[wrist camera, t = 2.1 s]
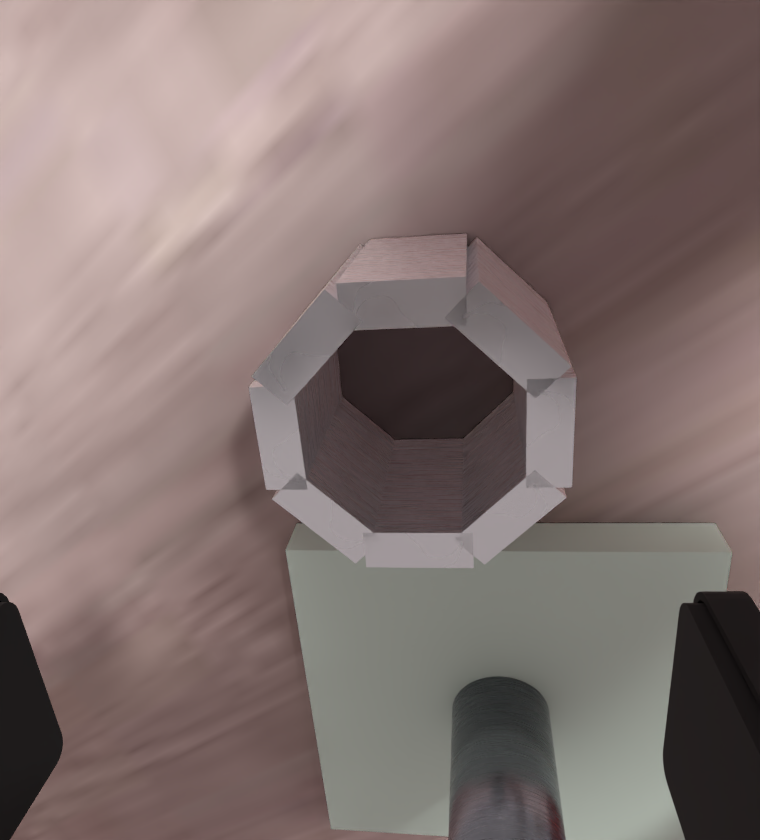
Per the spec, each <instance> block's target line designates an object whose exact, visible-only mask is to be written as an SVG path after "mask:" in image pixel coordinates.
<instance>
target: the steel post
mask: <svg viewBox="0 0 760 840" xmlns="http://www.w3.org/2000/svg"><path fill="white" fill-rule="evenodd" d="M448 840H566V837H565V830H564V822H563V814H562V807H561V799H560V791H559V783H558V776H557V768H556V760H555V753H554V745H553V737H552V729H551V722H550V714H549V708H548V704H547V702H546V700H545V698H544V697H543V696H542V694H541V693H540V692H539V691H538V690H537V689H535V688H534V687H532V686H531V685H529V684H527V683H525V682H523V681H521V680H518V679H514V678H509V677H500V676H498V677H486V678H482V679H479V680H476V681H473V682H471V683H469V684H468V685H466V686H465V687H464V688H462V689H461V690H460V691H459V693H458V694H457V695H456V697H455V699H454V701H453V706H452V734H451V767H450V800H449V833H448Z"/></svg>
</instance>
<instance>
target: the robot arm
mask: <svg viewBox="0 0 760 840" xmlns="http://www.w3.org/2000/svg"><path fill="white" fill-rule="evenodd" d="M62 746H63V738H62V734H61V731H60V728H59V725H58V722H57V719H56V716H55V713H54V711H53V708H52V705H51V702H50V699H49V696H48V693H47V691H46V688H45V685H44V682H43V679H42V676H41V673H40V670H39V668H38V665H37V662H36V659H35V656H34V653H33V650H32V648H31V645H30V642H29V639H28V636H27V633H26V630H25V627H24V625H23V622H22V619H21V616H20V613H19V610H18V608H17V607H16V605H15V604H13V603H11V602H9V600H8V598H7V597H6V596H5V595H4V594H3V593H0V840H10V838H11V837H12V835H13V834H14V832H15V830H16V829H17V827H18V826H19V824H20V822H21V821H22V819H23V817H24V816H25V814H26V813H27V811H28V809H29V808H30V806H31V805H32V803H33V801H34V800H35V798H36V797H37V795H38V793H39V792H40V790H41V789H42V787H43V785H44V784H45V782H46V781H47V779H48V777H49V776H50V774H51V772H52V771H53V769H54V768H55V766H56V764H57V762H58V760H59V758H60V755H61V752H62ZM663 766H664V773H665V778H666V781H667V785H668V788H669V791H670V794H671V797H672V800H673V803H674V807H675V810H676V813H677V816H678V819H679V822H680V825H681V828H682V831H683V834H684V837H685V840H760V611H759V610H758V608H757V606H756V605H755V603H754V602H753V600H752V598H751V597H750V596H749V595H748V594H747V593H745V592H743V591H700V592H697V593H696V595H695V597H694V601H693V603H682V604H681V606H680V610H679V616H678V625H677V633H676V642H675V651H674V659H673V668H672V677H671V685H670V694H669V702H668V711H667V720H666V728H665V737H664V746H663Z"/></svg>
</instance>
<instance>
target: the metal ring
mask: <svg viewBox="0 0 760 840" xmlns="http://www.w3.org/2000/svg"><path fill="white" fill-rule="evenodd" d="M447 326H454V327H455V328H457V329H458V330H459V331H460V332H461V333H462V334H463V335H464V336H466V337H467V338H468V339H469V340H470V341H471V342H472V343H473V344H475V345H476V346H477V347H478V348H479V349H480V350H481V351H482V352H484V353H485V354H486V355H487V356H488V357H489V358H490V359H491V360H493V361H494V362H495V363H496V364H497V365H498V366H499V367H500V368H502V369H503V370H504V371H505V372H506V373H507V374H508V375H509V376H511V377H512V378H513V392H512V393H511V394H510V395H509V396H508V397H507V398H506V399H505V400H504V401H503V402H502V403H501V404H500V405H499V406H497V407H496V408H495V409H494V410H493V411H492V412H491V413H490V414H489V415H488V416H487V417H486V418H485V419H484V420H483V421H481V422H480V423H479V424H478V425H477V426H476V427H475V428H474V429H473V430H472V431H471V432H470V433H469V434H468V435H467V436H465V437H464V438H460V439H405V440H395V439H393V438H392V437H391V436H390V435H388V434H387V433H386V432H385V431H384V430H382V429H381V428H380V427H379V426H378V425H376V424H375V423H374V422H373V421H372V420H370V419H369V418H368V417H367V416H365V415H364V414H363V413H362V412H361V411H359V410H358V409H357V408H356V407H355V406H353V405H352V404H351V403H350V402H349V401H347V400H346V399H345V398H344V397H343V396H342V388H341V378H340V369H339V360H338V351H337V349H338V348H339V346H340V345H341V344H342V343H343V342H344V341H345V340H346V339H347V337H348V336H349V335H350V334H351V333H352V332H353V331H354V330H375V329H399V328H423V327H447ZM251 377H253V378H254V379H255V380H254V381H253V382H252V384H251V385H250V386H249V393H250V399H251V404H252V410H253V416H254V422H255V428H256V434H257V440H258V446H259V451H260V457H261V463H262V469H263V475H264V481H265V487H266V490H276V492H275V494H274V496H273V498H272V500H274V501H275V502H276V503H278V504H279V505H280V506H281V507H283V508H284V509H285V510H287V511H288V512H289V513H291V514H292V515H293V516H294V517H296V518H297V519H298V520H300V521H301V522H302V523H303V524H305V525H306V526H307V527H309V528H310V529H311V530H313V531H314V532H315V533H316V534H318V535H319V536H320V537H322V538H323V539H324V540H326V541H327V542H328V543H329V544H331V545H332V546H333V547H335V548H336V549H337V550H339V551H340V552H341V553H342V554H344V555H345V556H346V557H348V558H349V559H350V560H352V561H353V562H354V563H355V564H356V563H357V562H358V561H359V560H360V559H361V558H362V557H363V556H365V559H366V567H388V568H474V557H476V558H477V559H478V560H479V561H481V562H482V563H483V564H484V565H485V564H486V563H487V562H488V561H490V560H491V559H492V558H493V557H495V556H496V555H497V554H498V553H499V552H501V551H502V550H503V549H504V548H506V547H507V546H508V545H509V544H510V543H512V542H513V541H514V540H515V539H517V538H518V537H519V536H520V535H521V534H523V533H524V532H525V531H526V530H528V529H529V528H530V527H531V526H532V525H534V524H535V523H536V522H537V521H539V520H540V519H541V518H542V517H543V516H545V515H546V514H547V513H548V512H550V511H551V510H552V509H553V508H554V507H556V506H557V505H558V504H559V503H561V502H562V501H563V500H564V499H565V498H567V497H566V493H565V489H564V488H570V487H572V476H573V452H574V428H575V404H576V380H577V377H576V375H575V372H574V370H573V367H572V364H571V362H570V359H569V357H568V354H567V352H566V349H565V346H564V344H563V341H562V339H561V336H560V334H559V331H558V328H557V326H556V323H555V321H554V318H553V315H552V313H551V311H550V309H549V306H548V303H547V302H546V301H545V300H544V299H543V298H542V297H541V296H540V295H539V294H538V293H537V292H536V291H535V290H533V289H532V288H531V287H530V286H529V285H528V284H527V283H526V282H525V281H524V280H523V279H522V278H521V277H520V276H518V275H517V274H516V273H515V272H514V271H513V270H512V269H511V268H510V267H509V266H508V265H507V264H506V263H504V262H503V261H502V260H501V259H500V258H499V257H498V256H497V255H496V254H495V253H494V252H493V251H492V250H490V249H489V248H488V247H487V246H486V245H485V244H484V243H483V242H482V241H481V240H480V239H479V238H478V237H476V238H475V239H474V240H473V242H472V243H471V244H470V245H469V246H468V247H467V233H464V234H447V235H431V236H414V237H397V238H381V239H369V240H368V242H367V243H366V244H365V246H364V247H363V246H362V245H361V244H360V245H359V246H358V247H357V248H356V249H355V251H354V252H353V253H352V254H351V255H350V257H349V258H348V259H347V260H346V261H345V263H344V264H343V265H342V266H341V267H340V269H339V270H338V271H337V272H336V273H335V275H334V276H333V277H332V278H331V279H330V281H329V282H328V283H327V284H326V285H325V287H324V288H323V289H322V290H321V291H320V293H319V294H318V295H317V296H316V297H315V299H314V300H313V301H312V302H311V303H310V305H309V306H308V307H307V308H306V309H305V311H304V312H303V313H302V314H301V316H300V317H299V318H298V319H297V320H296V322H295V323H294V324H293V325H292V327H291V328H290V329H289V330H288V332H287V333H286V334H285V335H284V337H283V338H282V339H281V340H280V342H279V343H278V344H277V345H276V347H275V348H274V349H273V350H272V352H271V353H270V354H269V355H268V357H267V358H266V359H265V360H264V361H263V363H262V364H261V365H260V366H259V368H258V369H257V370H256V371H255V373H254V374H253V375H252V376H251Z"/></svg>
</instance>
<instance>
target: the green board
mask: <svg viewBox="0 0 760 840" xmlns="http://www.w3.org/2000/svg"><path fill="white" fill-rule="evenodd" d="M285 551H286V557H287V563H288V569H289V575H290V581H291V588H292V594H293V600H294V606H295V612H296V618H297V624H298V630H299V636H300V643H301V649H302V655H303V661H304V667H305V673H306V679H307V685H308V691H309V698H310V704H311V710H312V716H313V722H314V728H315V734H316V740H317V746H318V753H319V759H320V765H321V771H322V777H323V783H324V789H325V795H326V801H327V808H328V814H329V820H330V826H331V829H337V830H352V831H368V832H384V833H399V834H415V835H431V836H446V837H448V833H449V800H450V767H451V734H452V706H453V701H454V699H455V697H456V695H457V694H458V693H459V691H460V690H461V689H462V688H464V687H465V686H466V685H468V684H469V683H471V682H473V681H476V680H479V679H482V678H486V677H498V676H500V677H509V678H514V679H518V680H521V681H523V682H525V683H527V684H529V685H531V686H532V687H534V688H535V689H537V690H538V691H539V692H540V693H541V694H542V696H543V697H544V698H545V700H546V702H547V704H548V708H549V714H550V722H551V729H552V737H553V745H554V753H555V760H556V768H557V776H558V783H559V791H560V799H561V807H562V814H563V822H564V830H565V837H566V840H685V837H684V834H683V831H682V828H681V825H680V822H679V819H678V816H677V813H676V810H675V807H674V803H673V800H672V797H671V794H670V791H669V788H668V785H667V781H666V778H665V773H664V766H663V746H664V737H665V728H666V720H667V711H668V702H669V694H670V685H671V677H672V668H673V659H674V651H675V642H676V633H677V625H678V616H679V610H680V606H681V604H682V603H693V601H694V597H695V595H696V593H697V592H700V591H726V590H727V584H728V577H729V571H730V565H731V559H732V551H731V549H730V547H729V546H728V544H727V542H726V541H725V539H724V537H723V535H722V534H721V532H720V530H719V529H718V527H717V525H716V523H535V524H534V525H532V526H531V527H530V528H529V529H528V530H526V531H525V532H524V533H523V534H521V535H520V536H519V537H518V538H517V539H515V540H514V541H513V542H512V543H510V544H509V545H508V546H507V547H506V548H504V549H503V550H502V551H501V552H499V553H498V554H497V555H496V556H495V557H493V558H492V559H491V560H490V561H488V562H487V563H486V564H485V565H484V564H483V563H482V562H481V561H479V560H478V559H477V558H476V557H474V568H388V567H366V559H365V556H363V557H362V558H361V559H360V560H359V561H358V562H357V563H356V564H355V563H354V562H353V561H352V560H350V559H349V558H348V557H346V556H345V555H344V554H342V553H341V552H340V551H339V550H337V549H336V548H335V547H333V546H332V545H331V544H329V543H328V542H327V541H326V540H324V539H323V538H322V537H320V536H319V535H318V534H316V533H315V532H314V531H313V530H311V529H310V528H309V527H307V526H306V525H305V524H303V523H297V524H296V526H295V528H294V531H293V533H292V536H291V538H290V540H289V543H288V545H287V548H286V550H285Z"/></svg>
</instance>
